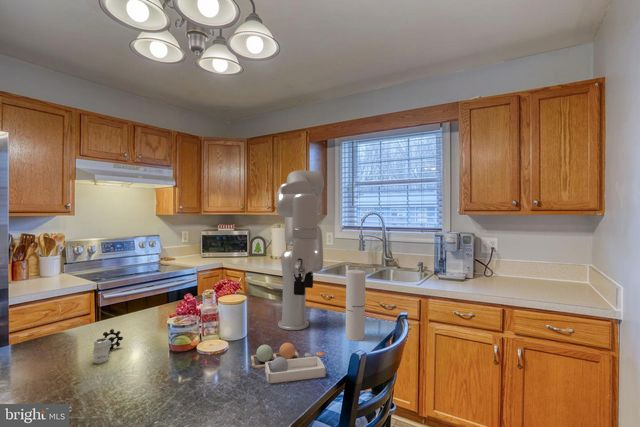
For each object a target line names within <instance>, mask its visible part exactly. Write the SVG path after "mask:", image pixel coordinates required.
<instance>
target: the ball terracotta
mask: <svg viewBox="0 0 640 427" xmlns="http://www.w3.org/2000/svg"><path fill="white" fill-rule="evenodd" d="M278 351H279V352H278V353H280V355H279V357H283V358H285V359H286V360H287V359H293V357H294V356H295V351H296V348H295V346H294V344H292V343H291V342H285V343H283V344H281V346H280V347H279V350H278Z"/></svg>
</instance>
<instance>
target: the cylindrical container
mask: <svg viewBox="0 0 640 427" xmlns="http://www.w3.org/2000/svg"><path fill="white" fill-rule="evenodd" d="M366 274H367V273H366V271H365V270H362V269H361V270H360V269H348V270H347V271H346V280H345V281H346V283H345V285H346V286H345V288H346V290H345V291H346V294H345V328H344V329H345V331H344V332H345V339H346V340H349V341H353V342H360V341H363V340H364V339H365V321H366V320H365V318H366V317H365V316H366V315H365V314H366Z"/></svg>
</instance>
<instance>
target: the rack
mask: <svg viewBox="0 0 640 427" xmlns="http://www.w3.org/2000/svg"><path fill="white" fill-rule="evenodd" d="M278 356H280V353H279V352H273V354H272V357H273V360H274V359H275V358H277V357H278ZM294 356H295V358H296V359H297V358H301V357H300V354H299V353H298V351H297V350H295V354H294ZM255 358H257V356H256V354H252V355H250V361H251V366H252V369H259V368H260V369H261V368H265V363H264V364H256V362H255Z"/></svg>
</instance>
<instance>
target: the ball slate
mask: <svg viewBox="0 0 640 427" xmlns="http://www.w3.org/2000/svg"><path fill="white" fill-rule="evenodd" d="M276 357H277V358H275V359H274V358H273V360H271V361H272V363H271V371H272V373H275V372H284V371H287V370H288V362H287V360H286V359H285V358H283V357H281V356H276Z"/></svg>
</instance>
